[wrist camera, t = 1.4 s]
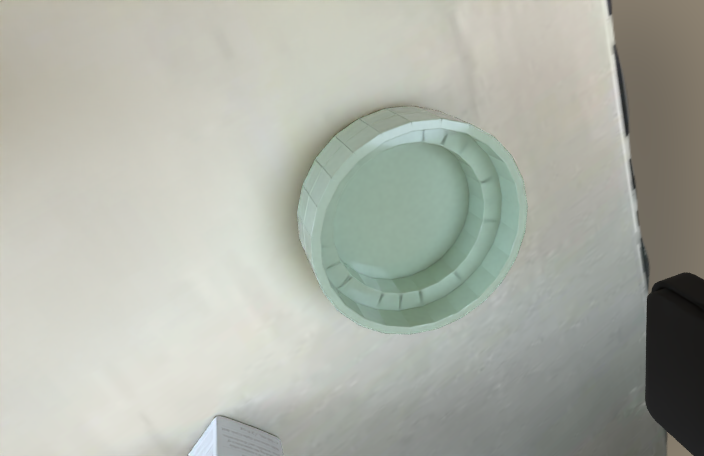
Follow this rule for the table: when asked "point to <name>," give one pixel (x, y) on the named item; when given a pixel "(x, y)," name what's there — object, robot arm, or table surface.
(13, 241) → the table surface
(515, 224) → the bowl
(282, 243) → the table surface
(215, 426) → the cosmetic box
